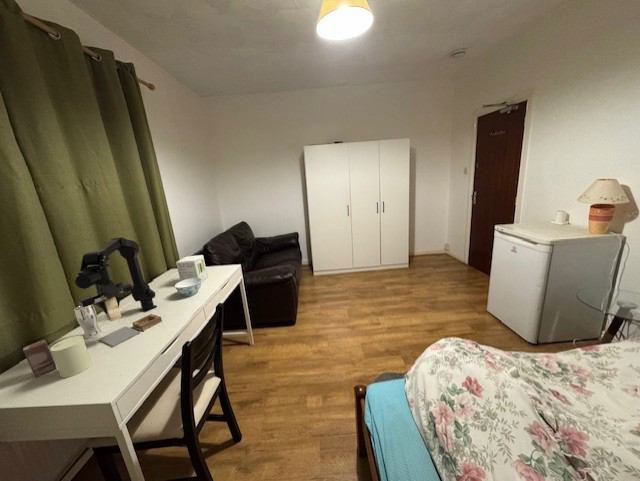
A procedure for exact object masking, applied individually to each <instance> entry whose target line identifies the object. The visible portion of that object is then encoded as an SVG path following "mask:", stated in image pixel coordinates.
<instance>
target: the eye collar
mask: <svg viewBox="0 0 640 481" xmlns="http://www.w3.org/2000/svg"><path fill="white" fill-rule="evenodd" d="M162 322H163V319H162V316H159V315H157V314H154V313H150V314H148V315H146V316H144V317H142V318H140V319H138V320H135V321H133V322H132V326H133V329H134V328H135V329H136V330H138V331H139V330H140V331H142V332H144V331H146V330H148V329H150V328H152V327H154V326H156V325H158V324H160V323H162Z"/></svg>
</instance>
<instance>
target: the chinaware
mask: <svg viewBox="0 0 640 481" xmlns="http://www.w3.org/2000/svg"><path fill="white" fill-rule="evenodd" d="M201 286H202V283H201V278H190V279H186V280H183V281H178V282H176V283H175V285H174V287H175V290H176V291H177V292H178V293H180V294H182V295H184V296H186V297H191V296H194V295H196V294H197V292H198V291H199V290H200V288H201Z"/></svg>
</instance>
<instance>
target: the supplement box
mask: <svg viewBox="0 0 640 481" xmlns="http://www.w3.org/2000/svg"><path fill="white" fill-rule="evenodd" d="M204 257H205V256H204V255H203V254H199V255H198V254H197V255H188V256H184V257H182V258H181V259H179V260H177V261H176V262H175V264H176V267H177V273H178V277H179V280H180V281H183V280H186V279H190V278H201V284H202V283H203V282H204V281H206V280H207V279H208V278H209V277H208V271H207V268H206V263H205V258H204ZM180 281H179V282H180Z"/></svg>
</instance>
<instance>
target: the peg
mask: <svg viewBox="0 0 640 481" xmlns="http://www.w3.org/2000/svg"><path fill="white" fill-rule="evenodd" d="M101 301H104V306H105V308H106V310H107V313H108V314H105V317H106V320H107V321H109V322H113V321H116V320H117V319H120V318H122V317H123V316H122V312H121V311H120V306H119V307H118V304H117V301H116V297H113V298H111V299H107V298H106V297H103V298H101Z"/></svg>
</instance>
